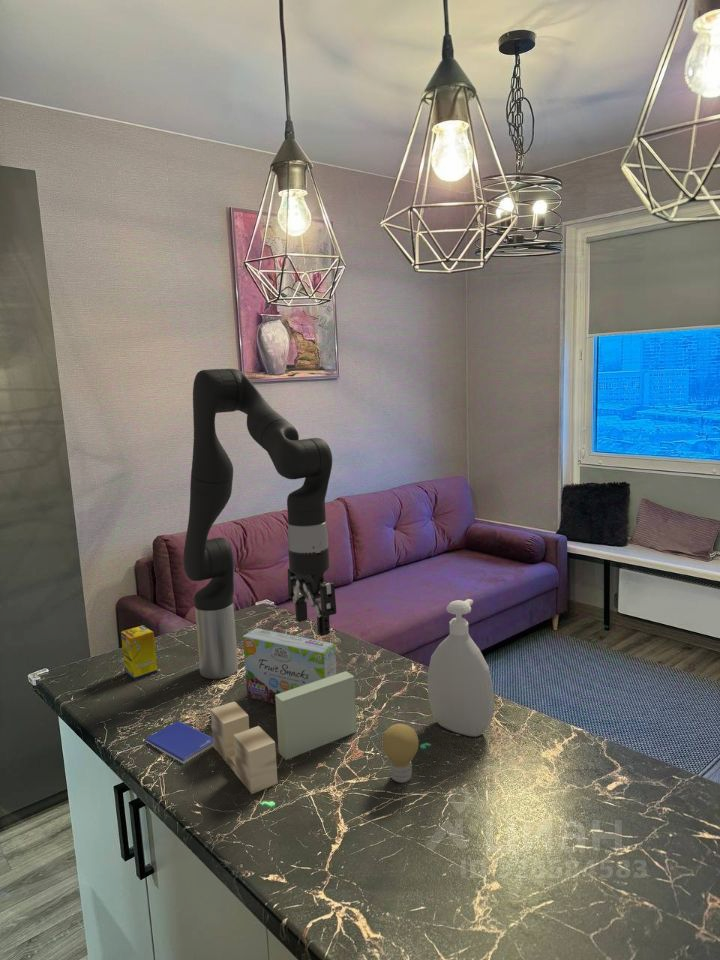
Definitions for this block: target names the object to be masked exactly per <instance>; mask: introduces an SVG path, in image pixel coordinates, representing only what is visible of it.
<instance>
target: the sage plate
mask: <svg viewBox="0 0 720 960" xmlns="http://www.w3.org/2000/svg"><path fill="white" fill-rule="evenodd" d="M355 684H356V683H355V675H353V674H351V673H349V671H347V670H345V671H343V672H339V673H336V675H333V676H330V677H327V678H324V679H321V680H318V681H315V682H312V683H309V684H306V685H303V686H300V687H297V688H294V689H291V690H288V691H285V692H282V693H279V694H276V695H275V700H276V704H275V713H276V729H277V730H276V731H277V732H276V733H277V747H278V753H279V754H280V756H281V757H282V758H283V759H284V760H285V761H287V760H289V759H292V758H294V757H297V756H300V755H301V754H304V753H307V752H310V751H312V750H314V749H317V748H320V747H323V746H325V745H327V744H330V743H332V742H334V741H337V740H341V739H342V738H344V737H347V736H349V735H351V734H355V733H357V731H358V730H357V711H356V708H357V707H356V687H355V686H356V685H355Z"/></svg>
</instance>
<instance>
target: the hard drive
mask: <svg viewBox="0 0 720 960" xmlns="http://www.w3.org/2000/svg"><path fill="white" fill-rule="evenodd" d="M146 742H147V743H146ZM145 743H146V744H148V743H149V744H151V745H152V746H151V745H150V746H151V747H153V746H154V747H153V748H155V747H156V748H157V750H158V749H159V750H158V751H160V752H162V753H163V752H164V753H163V754H165V753H166V754H165V755H167V754H168V755H167V756H169V757H170V756H171V757H170V758H172V757H173V758H172V759H174V760H176V761H177V760H178V762H179V761H180V762H179V763H181V764H183V765H185V764H186V762H187V763H188V762H190V761H192V760H193V759H195V758H196V756H197V755H198V756H200V755H201V754H200V753H202V752H204V751H205V750H207V749H209V748H210V747H212V746H213V736H210V735H208V734H206V733H204V732H202V731H199V730H198V729H196V728H194V727H192V726H190V725H188V724H186V723H184V722H182V721H180V720H178V721H176V722H173V723H172V724H170V725H168V726H166V727H165V728H163V729H160V730H159V731H156V732H155V733H153V734H151V735H149V736H147V737H146V738H145ZM149 744H148V745H149ZM156 748H155V749H156ZM212 748H213V747H212ZM210 749H211V748H210ZM210 749H209V750H210ZM207 751H208V750H207ZM205 752H206V751H205ZM205 752H204V753H205ZM199 754H200V755H199ZM202 754H203V753H202ZM198 756H197V757H198ZM194 757H195V758H194ZM192 758H193V759H192ZM191 759H192V760H191ZM189 760H190V761H189Z"/></svg>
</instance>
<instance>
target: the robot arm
mask: <svg viewBox="0 0 720 960" xmlns="http://www.w3.org/2000/svg"><path fill="white" fill-rule="evenodd" d="M192 386H193V387H192V410H193V411H192V412H193V413H192V416H193V417H192V418H193V446H192V462H191V470H190V471H191V473H190V486H189V488H190V490H189V491H190V492H189V493H190V495H189V510H188V511H189V512H188V513H189V514H188V521H187V529H186V535H185V540H184V541H185V542H184V546H183V547H184V548H183V559H182V560H183V568H184V572H185V575H186V577H187V578H188V579H189V580H190V581H192V582H200V581H205V580H209V582H208V583H207V584H206V585H205V586H203V587H202V588H201V589H200V590H198V591H197V592H196V593H195V594H194V597H193V605H194V616H195V627H196V637H197V638H196V639H197V640H196V641H197V653H198V663H199V664H198V665H199V673H200V676H202V677H203V678H205V679H213V680H216V679H223V678H226V677H229V676H232V675H233V674H235V673H236V672H238V669H239V665H238V664H239V663H238V648H237V637H236V635H237V634H236V621H235V620H236V619H235V610H234V609H235V608H234V594H235V593H234V592H235V583H234V582H235V579H234V573H235V572H234V567H235V565H234V564H235V563H234V555H233V549H232V546H231V544H230V542H229V541H228V540H227V539H226V538H225V537H214V538H209V539H208V536H209V534H210V530H211V528H212V526H213V525H214V524H215V522H216V520H217V519H218V518H219V516H220V514H222V512H223V510H224V509H225V507H226V506H227V504H228V502H229V500H230V499H231V496H232V490H233V477H234V467H233V466H234V465H233V463H232V461H231V458H230V457H229V455H228V453H227V452H226V450H225V448H224V447H223V445H222V444H221V442H220V440H219V437H218V436H217V431H216V415H217V414H221V413H231V412H232V413H233V412H237V411H239V412H241V413H244V414H245V415H246V427H247V431H248V433H249V435H250V437H251V438H252V439H253V441H255V442H256V443H257V444H258V445H259V446H260V447H261V448H262V449H264V450H265V452H267V455H268V456H269V458H270V460H271V461H272V464H273V466H274V468H275V470H276V472H277V473H278V474H279V476H281V477H282V478H285V479H288V480H298V479H299V480H300V479H304V480H303V484H302V486H301V487H299V488H297V489H295V490H293V491H292V492H289V494H288V496H287V498H286V499H287V500H286V507H287V508H286V509H287V521H288V524H287V551H288V552H287V553H288V563H289V564H288V566H289V567H288V569H287V593H288V594H287V595H288V597H289V599H291V598H292V602H293V603H294V608H295V610H294V611H295V619H296V620H295V621H296V622H298V623H302V622H306V621H308V602H307V600H308V601H309V603H310V606H311V607H313V608H314V610H315V613H316V615H317V616H316V621H317V622H316V623H317V635H318V636H320V637H325V636H327V635H329V634H330V633H331V625H330V624H331V623H330V616H333V615H336V614H337V605H336V604H337V602H336V591H335V590H336V589H335V583H334V582H332V581H330V582H326V580H325V576H324V575H325V573H326V571H327V572H328V570H329V568H330V554H329V553H330V551H329V550H330V549H329V534H328V527H327V518H326V516H327V513H326V497H327V493H328V487H329V482H330V478H331V473H332V469H333V454H332V451H331V447H330V446H329V444H328V443H327V441H326V440H325V439H323V438H320V437H312V438H304V439H303V438H302V439H300V437H299V432H298V430H297V429H296V427H295V426H294V425H293V424H292V423H290V421H288V420H287V419H285V418H284V417H283V416H282V415H281V414H280V413H278V412H277V411H276V410H275V409H274V408H272V406H270V404H269V403H268V401H266V400H265V398H264V397H263V395H262V394H261V393H260V392H259V390H258V389H257V387H256V386H255V385H254V384H253V382H252V381H251V380H250V379H249V377H248V376H247V375H246V374H244V372H243V371H241V370H239V369H236V368H216V369H215V368H213V369H212V368H210V369H203V370H202V369H201V370H200V371H198V372H197V373H196V375H195V377H194V379H193V385H192Z"/></svg>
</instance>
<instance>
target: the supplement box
mask: <svg viewBox="0 0 720 960" xmlns="http://www.w3.org/2000/svg"><path fill="white" fill-rule="evenodd" d="M120 635H121V644H122V645H121V646H122V654H123V665H124V673H125V674H127V675H128V676H129V677H131V679H133V680H134V681H138V680H141V679H143V678H146V677H149V676H152V675H155V674H156V673H158V666H157V665H158V664H157V655H156V645H155V635H154V631H152V630H151V629H149V628H148V627H146V626H145V625H143V624H142V625H140V626H137V627H132V628H129V629H126V630H122V631H121V632H120Z"/></svg>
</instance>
